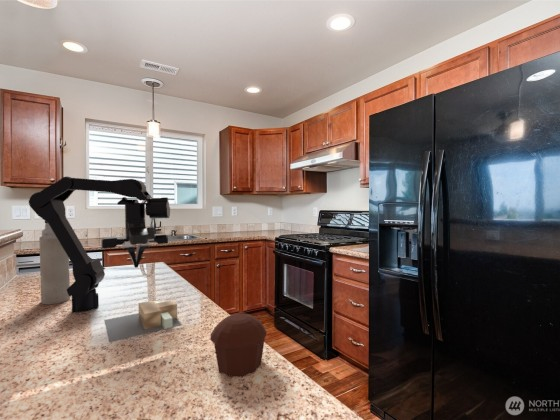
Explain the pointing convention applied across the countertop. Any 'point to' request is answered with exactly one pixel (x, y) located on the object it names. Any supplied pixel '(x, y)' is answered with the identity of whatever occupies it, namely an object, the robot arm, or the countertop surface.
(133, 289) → the countertop surface
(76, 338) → the countertop surface
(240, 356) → the muffin
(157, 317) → the tee block
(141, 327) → the mat
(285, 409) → the countertop surface
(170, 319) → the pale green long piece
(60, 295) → the thermos bottle
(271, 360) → the countertop surface
